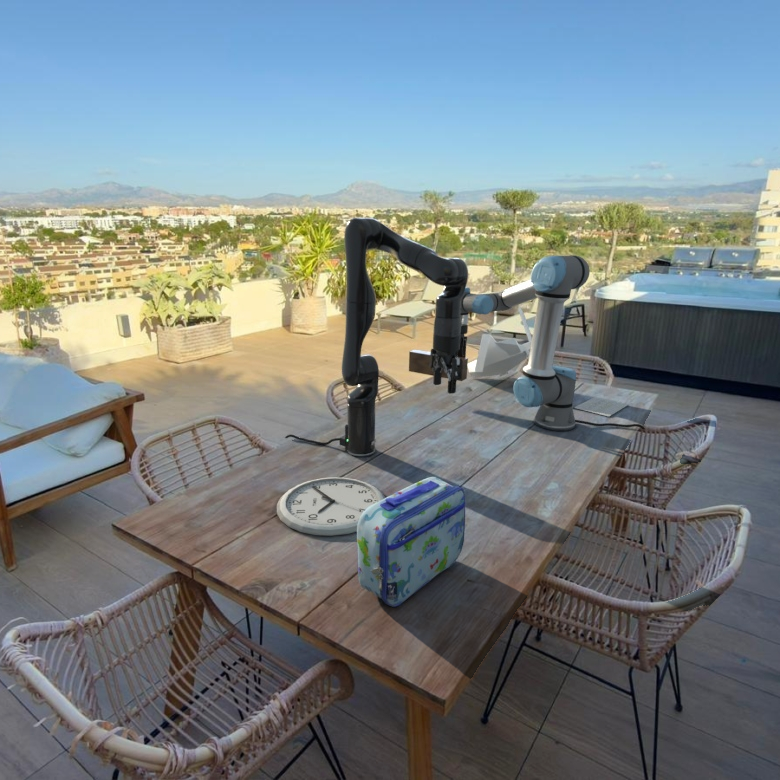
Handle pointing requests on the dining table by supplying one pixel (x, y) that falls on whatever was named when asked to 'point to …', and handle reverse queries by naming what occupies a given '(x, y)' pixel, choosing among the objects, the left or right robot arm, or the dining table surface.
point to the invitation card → (601, 406)
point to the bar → (421, 364)
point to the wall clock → (327, 505)
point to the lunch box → (410, 539)
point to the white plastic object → (500, 354)
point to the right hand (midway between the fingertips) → (455, 376)
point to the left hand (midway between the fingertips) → (444, 388)
